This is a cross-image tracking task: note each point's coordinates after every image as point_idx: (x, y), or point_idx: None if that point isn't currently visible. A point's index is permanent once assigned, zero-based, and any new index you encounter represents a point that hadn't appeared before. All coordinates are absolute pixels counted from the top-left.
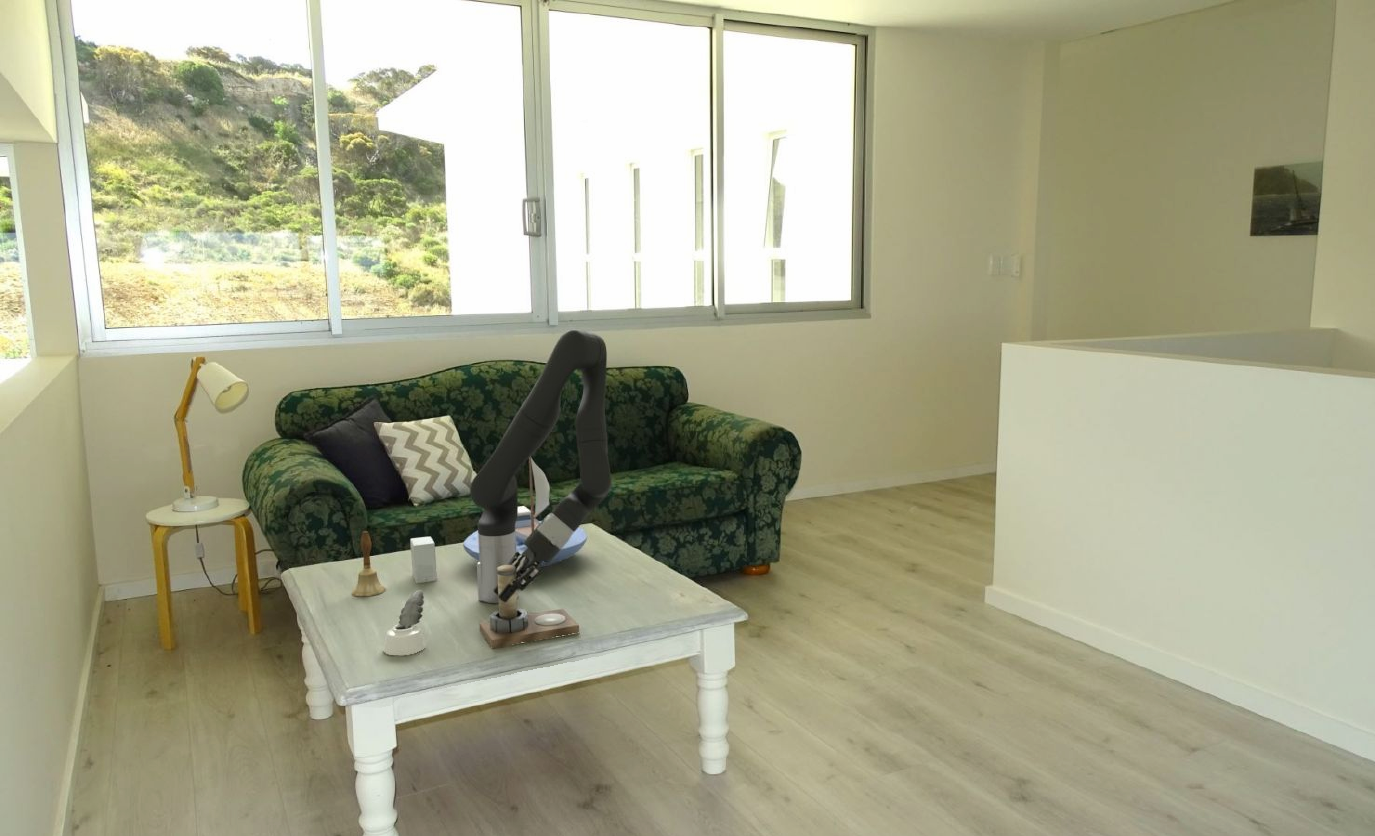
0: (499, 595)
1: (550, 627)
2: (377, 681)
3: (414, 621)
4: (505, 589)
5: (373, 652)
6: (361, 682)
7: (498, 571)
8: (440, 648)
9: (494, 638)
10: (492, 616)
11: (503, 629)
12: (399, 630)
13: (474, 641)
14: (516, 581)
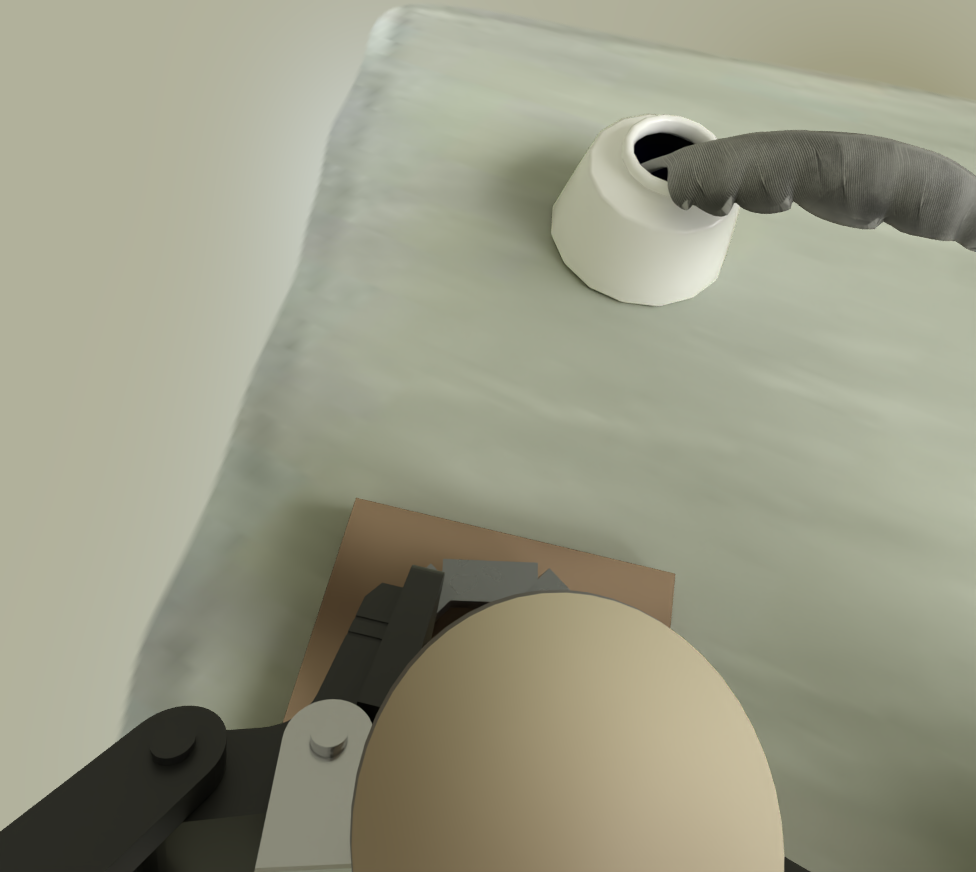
0: (419, 572)
1: None
2: (389, 70)
3: (680, 180)
4: (384, 639)
5: None
6: (419, 40)
7: (537, 590)
8: (544, 332)
9: (368, 522)
10: (526, 578)
11: None
12: (634, 124)
13: (526, 488)
14: (131, 761)
